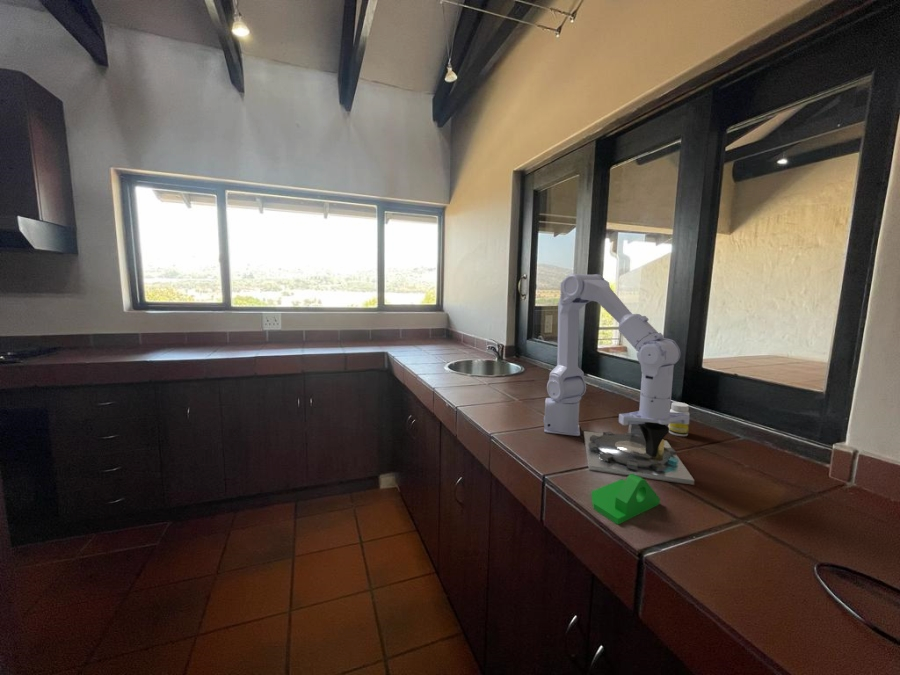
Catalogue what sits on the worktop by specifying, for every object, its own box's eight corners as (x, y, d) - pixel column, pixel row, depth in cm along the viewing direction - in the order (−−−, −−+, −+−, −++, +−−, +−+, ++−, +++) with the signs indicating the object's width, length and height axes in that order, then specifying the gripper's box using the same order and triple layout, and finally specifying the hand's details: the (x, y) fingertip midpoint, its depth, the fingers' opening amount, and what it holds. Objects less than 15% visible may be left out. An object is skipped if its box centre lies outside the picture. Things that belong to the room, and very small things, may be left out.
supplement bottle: (691, 437, 93) (693, 407, 92) (671, 436, 94) (674, 406, 93) (683, 430, 98) (685, 402, 97) (664, 429, 99) (667, 401, 98)
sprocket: (643, 479, 70) (645, 454, 69) (572, 444, 86) (573, 423, 86) (695, 458, 79) (697, 435, 78) (621, 429, 95) (622, 411, 94)
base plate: (588, 469, 76) (589, 465, 76) (583, 434, 95) (583, 430, 95) (694, 485, 70) (694, 480, 70) (666, 444, 89) (666, 440, 89)
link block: (630, 438, 93) (631, 419, 93) (628, 433, 97) (629, 415, 96) (655, 440, 91) (657, 422, 91) (652, 435, 95) (653, 417, 94)
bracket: (621, 485, 71) (623, 454, 70) (659, 505, 64) (662, 471, 63) (580, 502, 65) (582, 468, 64) (617, 526, 58) (619, 488, 58)
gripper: (632, 401, 70) (628, 464, 72) (702, 400, 71) (696, 462, 73) (615, 391, 77) (611, 449, 79) (678, 390, 78) (673, 448, 80)
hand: (651, 454), depth 76 cm, fingers closed
